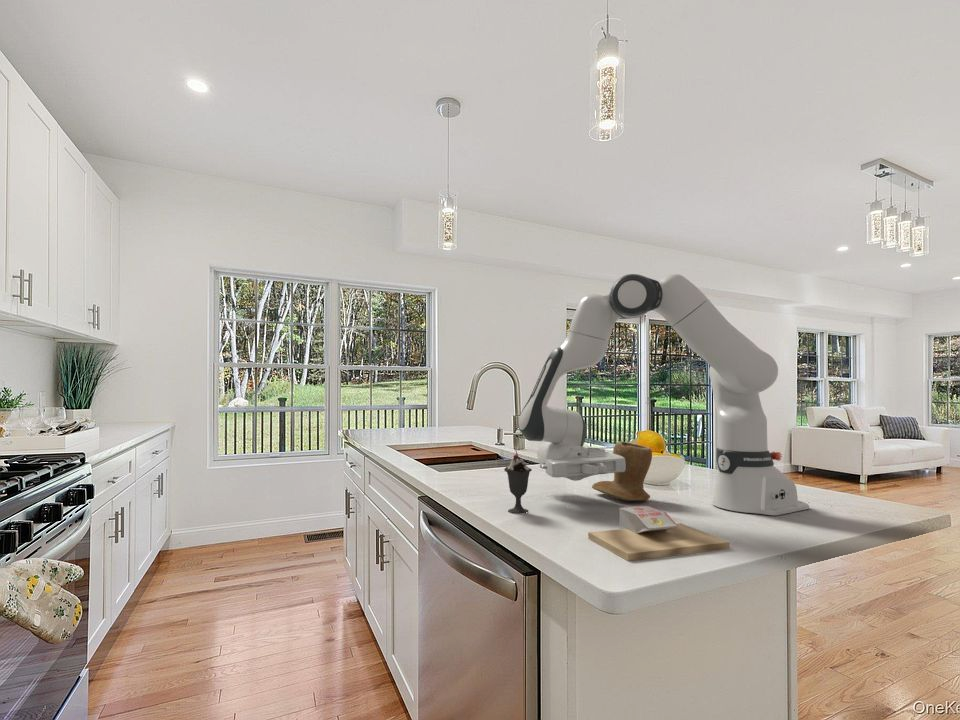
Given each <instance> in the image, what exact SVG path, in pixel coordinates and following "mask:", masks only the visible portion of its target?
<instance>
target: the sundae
mask: <svg viewBox="0 0 960 720" xmlns="http://www.w3.org/2000/svg"><path fill="white" fill-rule="evenodd" d="M513 449H514V451H515V454H514V455H513V458H512V459H511V460H510V463H509V466H505V467H504V472H506V473H507V478H508V479H507V480H508V487H509V492H510V493H511V494H512V495H513V497H515V505H514V506H513V507H512V508H509V509H508V511H507V512H508V513H510V512H511V513H510V514H514V513H525V514H527V513H526V512H528V511H529V510H528V509H527V508H524V507H523V505H522V501H521V500H522V497H523V496H524V495H525V494H526V493H527V490H528V485H529V477H530V472H531V471H533V469H532V468H530V467H528V465H526V463H525V461H524V459H523V458H522V457H519V455H518V451H517V449H516V447H514V448H513ZM528 513H529V512H528Z"/></svg>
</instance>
